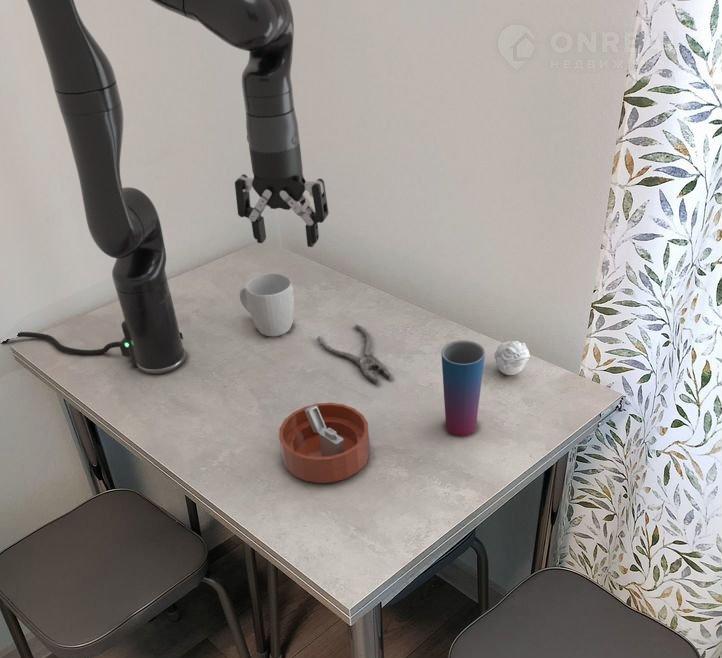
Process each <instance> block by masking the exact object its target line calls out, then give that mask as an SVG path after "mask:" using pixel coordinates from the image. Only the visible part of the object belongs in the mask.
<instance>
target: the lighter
mask: <svg viewBox="0 0 722 658" xmlns="http://www.w3.org/2000/svg"><path fill="white" fill-rule="evenodd" d="M309 406H310V405H309ZM305 413H306V416H307V418H308V420H309V422H310V425H311V427H312V429H313V432H315V433H319V435H320V444H321V452H322V455H324V456H325V457H327V456H333V455H337V454H340V453H344V452H345V450H344V439H343V438H342V437H340V436H338V435H337V432H336V431H334V430H333V429H331V428H328V429H326V426H325V423H324V421H323V419H322V416H321V414H320V412H319V409H318V407H317V406H310V407H309V408H307V409H306V410H305Z"/></svg>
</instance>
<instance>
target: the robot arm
mask: <svg viewBox="0 0 722 658" xmlns="http://www.w3.org/2000/svg"><path fill="white" fill-rule="evenodd" d="M26 1H27V5H28V7H29V9H30V12H31V15H32V18H33V21H34V23H35V28H36V30H37V33H38V37H39V40H40V44H41V47H42V50H43V52H44V53H43V54H44V56H45V59H46V62H47V67H48V70H49V73H50V77H51V82H52V86H53V90H54V93H55V97H56V100H57V104H58V108H59V110H60V114H61V117H62V120H63V122H64V126H65V130H66V133H67V138H68V141H69V144H70V148H71V152H72V156H73V160H74V164H75V167H76V171H77V176H78V180H79V184H80V185H79V186H80V191H81V197H82V202H83V208H84V213H85V221H86V224H87V228H88V231H89V233H90V236H91V238H92V241H93V242H94V243H95V245H96V246H97V248H98V249H99V250H100V251H101V252H102V253H104V254H105V255H107V256H108V257H111V258H113V259H115V262H114V264H113V267H112V270H111V278H112V281H113V285H114V288H115V291H116V295H117V298H118V301H119V305H120V309H121V312H122V315H123V319H124V320H123V321H122V323H121V325H120V326H121V330H122V333H123V335H124V337H123V338H122V339H121V340H120V341H113V342H110V343H107V344H105V345H104V347H103V348H97V349H78V348H73V347H68V346H65V345H63V344H62V343H60V342H59V341H58V340H57V339H56V338H54V337H53V336H51V335H50V334H46V333H41V332H40V333H39V332H32V331H19V332H20V333H18V335H17V336H18V337H17V338H33V339H42V340H46V341H49V342H51V344H52V345H53V346H55V348H56V349H58V350H60V351H62V352H65V353H68V354H73V355H80V356H97V355H98V356H99V355H103V354H106V353H108V352H109V350H110V349H113V348H119V349H120V353H121V355H122V357H127V358H130V360H131V364H132V367H133V368H137V369H138V370H139V371H141V372H142V373H145V374H149V375H162V374H166V373H169V372H172V371H174V370H176V369H178V368H179V367H181V366H182V365H183V364H184V363H185V361H186V357H187V356H186V351H185V349H184V345H183V341H184V336H183V333H182V332H181V331H180V327H179V323H178V320H177V315H176V311H175V305H174V302H173V298H172V293H171V289H170V286H169V281H168V276H167V273H166V264H167V252H166V247H165V241H164V234H163V229H162V225H161V220H160V217H159V216H160V215H159V213H158V211H157V208H156V206H155V205H154V203H153V201H152V200H151V199H150V197H149V196H148V195H147V194H146V193H144V192H143V191H142V190H140V189H138V188H135V187H132V186H131V187H129V186H126V187H125V186H124V187H123V184H122V178H121V156H122V155H121V154H122V147H123V146H122V145H123V137H124V109H123V104H122V99H121V94H120V91H119V88H118V87H119V86H118V82H117V78H116V74H115V71H114V69H113V66H112V64H111V61H110V59H109V58H108V56H107V55H106V53H105V52H104V50H103V49H102V47H101V46H100V44H99V42H98V41H97V40H96V38H95V37H94V36H93V35H92V33H91V32H90V31H89V29H88V28H87V26H86V25H85V23H84V22H83V20H82V18H81V15H79V12H78V9H77V5H76V3H75V0H26ZM150 2H152V3H154V4H155V5H157V6H159V7H161V8H163V9H166V10H168V11H170V12H172V13H175V14H177V15H180V16H182V17H185V18H187V19H189V20H190V21H191V20H192V21H194V22H197V23H198V24H200V25H202V26H203V27H204V28H205V29H207V31H209V32H210V33H212V34H213V35H214V36H216V37H217V38H219V39H220V40H221V41H223V42H224V43H226V44H228V45H230V46H232V47H233V48H236V49H238V50H242V51H245V52H249V53H248V55H249V56H248V61H247V64H246V66H245V68H244V69H243V71H242V74H241V89H242V96H243V102H244V110H245V129H246V140H247V143H248V149H249V156H250V164H251V170H252V171H251V172H252V174H253V177H249V176H247V174H245V173H243V174H240V176H238V178H237V179H236V180H235V182H234V191H235V198H236V206H237V207H236V209H237V210H236V211H237V215H238V217H240V218H247V219H248V220H249V221H250V223H251V229H252V235H253V238H254V240H256V242H257V243H258V244H264V242H265V241H266V239H267V232H266V225H265V218H264V216H262V214H263V212H264V210H265V209H266V208H267V207H269V208H270V209H271V210H272V209H273V210H278V209H281V210H285V211H290V210H292V211H293V212H294V214H296V216H299V217H300V218H301V219H302V220H303V222H304V223H305V224H306V225H305V226H304V227H305V235H306V243H307V245H306V246H307V247H308V248H314V246H315V244H316V243H317V242H318V241H319V238H320V233H319V223H321V224H322V223H324V221H325V220H326V219H327V218H328V216H329V214H330V213H329V207H328V205H329V204H328V200H327V198H328V197H327V192H326V185H325V181H324V179H322V178H317V179H316V181H306V179H305V177H304V173H303V161H302V151H301V150H302V149H301V141H300V132H299V124H298V119H297V114H296V110H295V102H294V101H295V100H294V90H293V84H292V78H291V77H292V76H291V75H292V73H291V72H292V65H293V52H294V34H295V33H294V31H295V26H294V14H293V10H292V6H291V4H290V3H291V2H290V1H289V0H150ZM252 189H253V190H254V191H255V193H256V194H257V195H258V196H259V199H258V200H257V202H256V204H255V205H254V207H253V206H251V198H250V197H251V196H250V191H251V190H252ZM306 191H307V192H308V194H309V196H310V197H311V198H312V200H313V204H314V205H313V206H314V208H313V206H311V202H310V200H309V199H308V198H307V197H306V195H305V194H304V193H305V192H306ZM13 339H14V338H12V339H7V340H6V341H3V342H2V343H0V345H5V344H7V343H8V342H9V341H11V340H13Z"/></svg>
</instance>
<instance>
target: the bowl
mask: <svg viewBox="0 0 722 658" xmlns="http://www.w3.org/2000/svg"><path fill="white" fill-rule="evenodd" d="M310 406H317V407H318V409H319V412H320V414H321V416H322V419H323V421H324V423H325V426H326V429H328V428H331V429H333V430H334V431H336V432H337V435H338V436H340V437H342V438H343V439H344V450H345V452H344V453H340V454H337V455H333V456H327V457H325V456H324V455H322V452H321V444H320V435H319V433H315V432H313V429H312V427H311V425H310V422H309V420H308V418H307V416H306V413H305V410H306V409H307V408H309V407H310ZM278 433H279V434H278V439H279V440H278V441H279V445H280V453H281V459H282V462H283V464H284V467H285V468H286V469H287V471H288V472H290V474H291V475H293V476H294V477H296V478H298V479H300V480H303V481H305V482H311V483H318V484H321V483H323V484H324V483H335V482H338V481H342V480H346V479H348V478H349V477H352V476H353V475H356V474H357V473H358V472H360V470H361V469H363V467H365V465H366V464H367V462H368V461H369V458H370V454H371V449H370V436H369V423H368V421H367V419H366V418H365V416H364V415H363V414H362V413H361V412H360V411H358V410H357V409H356V408H354V407H352V406H349V405H346V404H343V403H336V402H320V403H314V404H311V405H306V406H303V407H301V408H299V409H297V410H296V411H293V412H292V413H291V414H289V415H288V416H287V417H286V418H285V419H284V420H283V422H282V424H281V425H280V427H279V432H278Z"/></svg>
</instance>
